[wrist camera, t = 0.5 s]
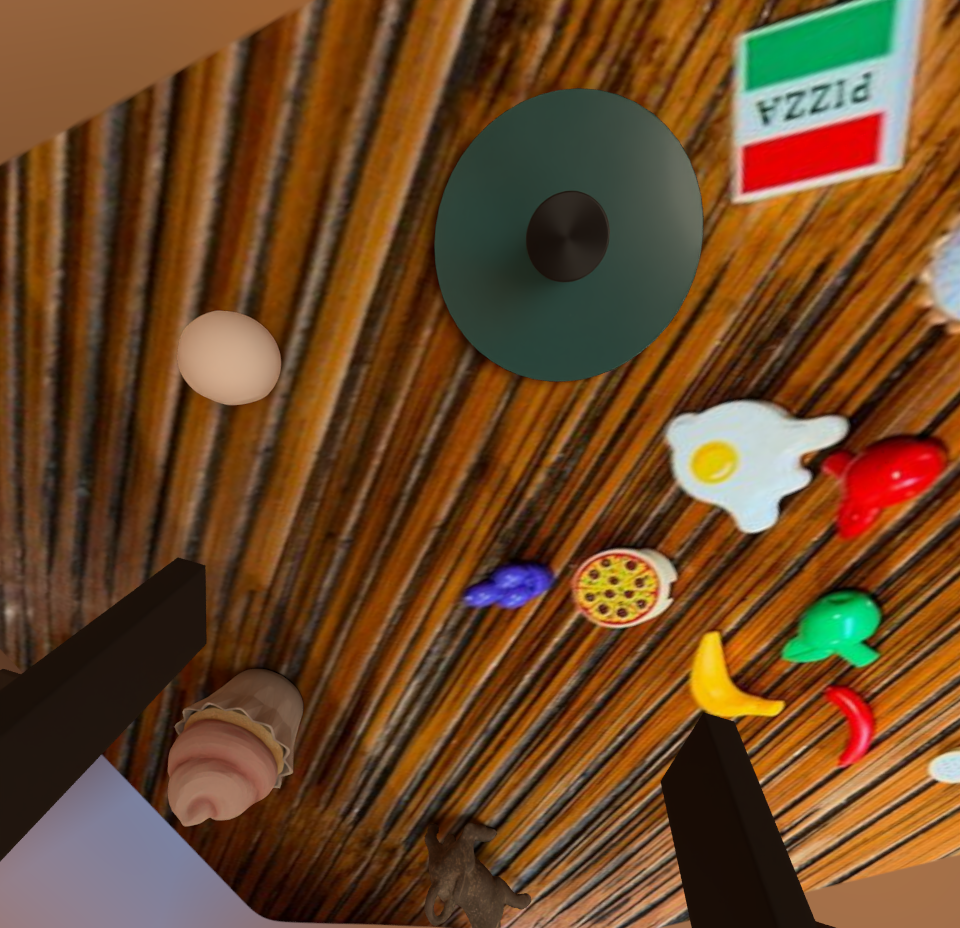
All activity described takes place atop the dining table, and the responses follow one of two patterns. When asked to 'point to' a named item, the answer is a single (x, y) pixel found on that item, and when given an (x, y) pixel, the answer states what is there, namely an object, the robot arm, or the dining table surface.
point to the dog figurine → (466, 879)
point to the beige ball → (229, 358)
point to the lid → (568, 235)
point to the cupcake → (233, 747)
